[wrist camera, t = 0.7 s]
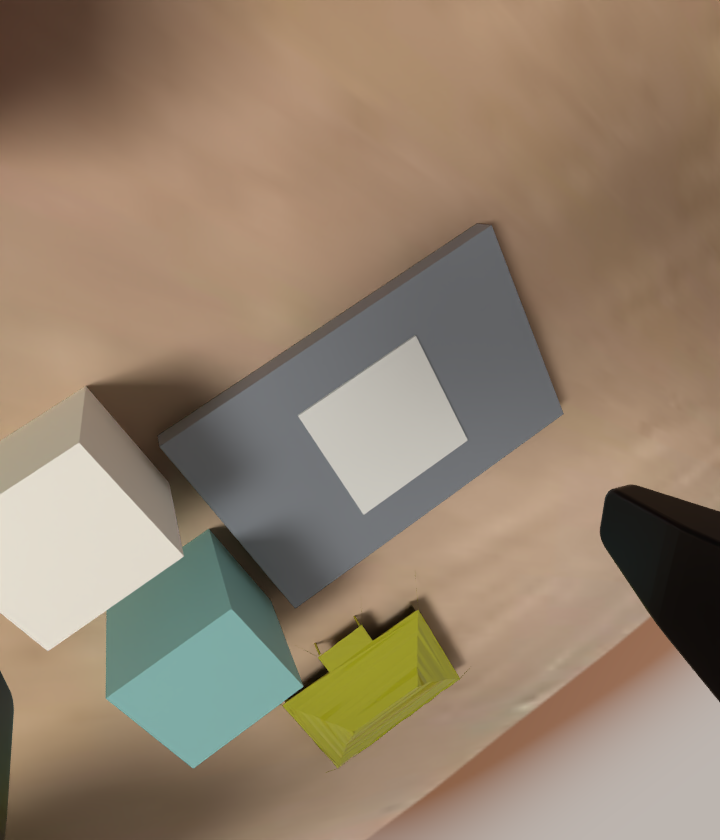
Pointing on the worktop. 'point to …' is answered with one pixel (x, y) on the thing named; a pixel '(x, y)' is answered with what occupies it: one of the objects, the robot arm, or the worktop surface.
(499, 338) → the slate plate
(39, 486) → the cream block
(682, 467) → the worktop surface
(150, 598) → the teal block
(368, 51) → the worktop surface
